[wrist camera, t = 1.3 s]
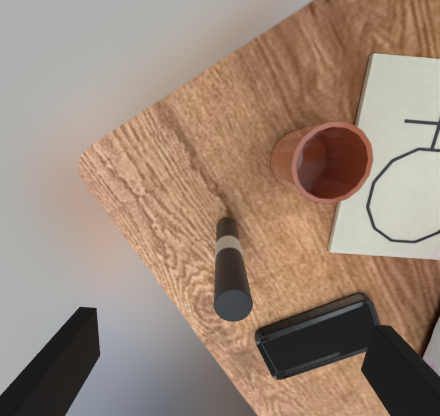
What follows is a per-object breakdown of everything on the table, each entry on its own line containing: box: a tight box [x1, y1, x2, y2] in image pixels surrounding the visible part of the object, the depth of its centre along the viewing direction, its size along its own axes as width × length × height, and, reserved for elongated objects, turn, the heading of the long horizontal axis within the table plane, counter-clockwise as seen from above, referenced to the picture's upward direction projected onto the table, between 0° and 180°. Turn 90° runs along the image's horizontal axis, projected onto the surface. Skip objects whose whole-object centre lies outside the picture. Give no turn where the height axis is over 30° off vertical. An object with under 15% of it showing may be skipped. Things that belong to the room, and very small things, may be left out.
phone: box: [255, 294, 380, 380], centre depth 28 cm, size 8×1×15 cm
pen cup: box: [271, 121, 373, 204], centre depth 20 cm, size 6×6×7 cm
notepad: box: [327, 53, 440, 260], centre depth 23 cm, size 20×16×1 cm
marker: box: [214, 218, 253, 321], centre depth 19 cm, size 2×2×13 cm
